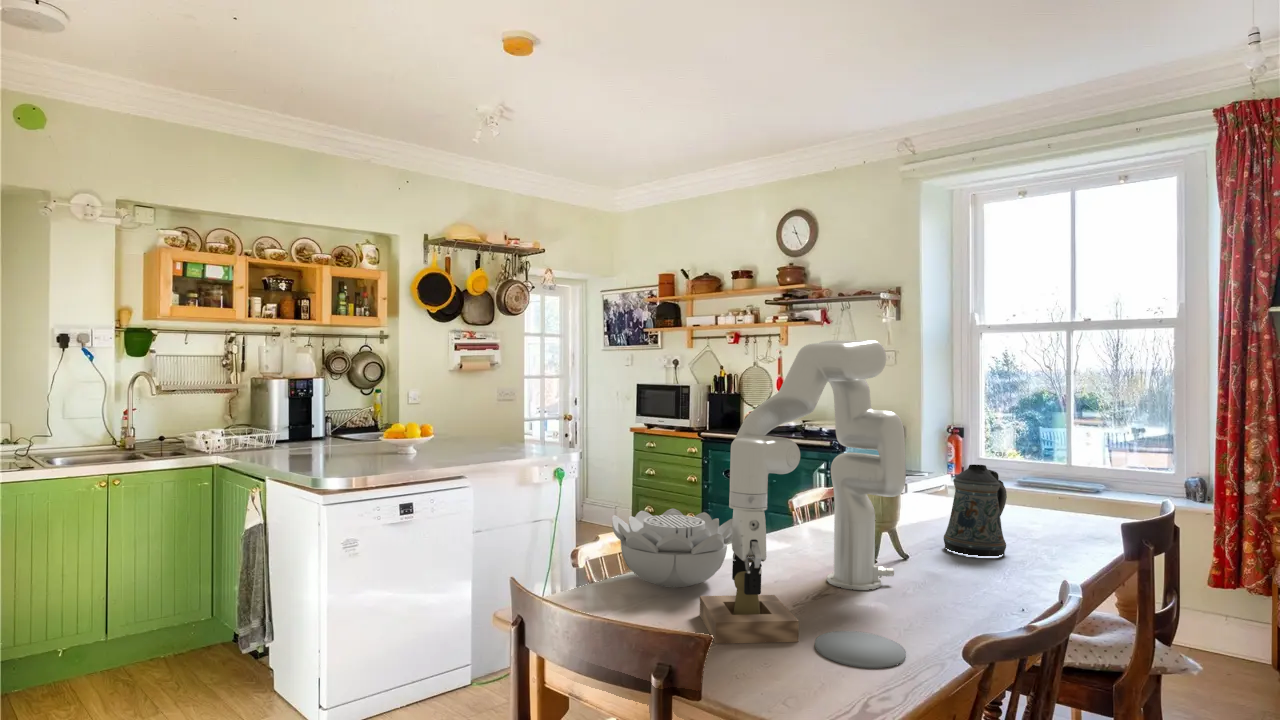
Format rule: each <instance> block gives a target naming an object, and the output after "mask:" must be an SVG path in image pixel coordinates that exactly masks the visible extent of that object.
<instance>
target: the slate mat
mask: <svg viewBox="0 0 1280 720" xmlns="http://www.w3.org/2000/svg"><path fill="white" fill-rule="evenodd" d="M814 644H815V646H814V647H815V650H816V652H817V653H818V654H819V655H821V656H823V657H824V658H826V659H828V660H830V661H832V662H836V663H839V664H842V665H846V666H850V667H854V668H855V667H856V668H864V669H882V668H881V667H888V668H890V667H889V666H893V667H895V666H894V665H897V664H899V663H901V662H903V661H904V659H905V658H906V659H907V651H906V649H905V648H904V646H903V645H901V643H898V641H895V640H893V639H891V638H888V637H885V636H882V635H879V634H875V633H869V632H865V631H863V632H862V631H855V630H837V631H829V632H826V633H823V634H821V635H819V636H818V637H817V638H816V639H815V643H814ZM906 659H905V660H906ZM904 662H905V661H904ZM904 662H903V663H904ZM901 664H902V663H901ZM899 665H900V664H899ZM897 666H898V665H897Z"/></svg>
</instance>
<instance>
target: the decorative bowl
mask: <svg viewBox="0 0 1280 720" xmlns="http://www.w3.org/2000/svg"><path fill="white" fill-rule="evenodd" d="M611 517H612V520H611V522H612V523H611V525H612V528H611V529H612V531H613V534H614V535H615V537H616V538H617V539H618V540H620V550H621V554H622V558H623V560H624V562H625V564H626V566H627V567H628V569H629V570H631V572H632V573H634V574H635V575H636V576H637V578H640V579H641V580H643V581H645V582H648V583H651V584H653V585H656V586H660V587H666V588H684V587H685V588H686V587H691V586H694V585H699V584H701V583H704V582H706V581H708V580H709V579H711V578H712V577H713V576H714V575H715V574H716V573H717V572H718V571H719V570H720V569H721V567H722V565H723V563H724V561H725V558H726V554H727V552H728V551H727V550H728V544H729V542H732V522H733V518H730V519H728V520H727V521H724V522H723V523H722V524H721V525H720V520H719V519H720V518H713V519H712V517H711V515H710V514H709V513H707V512H705V511H703V512H700V513H698V514H696V515H695V516H689V515H684V514H683V513H682V512H681V511H680V510H678V509H676V508H670V509H666V511H664V512H663V513H662V514H661V515H660V514H659V515H652V514H650V513H649V512H648V511H645V510H640V511H639V512H637V513H636V515H635V516H631V515H630V516H628V523H626V522H625V521H624V520H623V519H622V518H620V517H619V516H618V515H615V514H614V515H612V516H611Z"/></svg>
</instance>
